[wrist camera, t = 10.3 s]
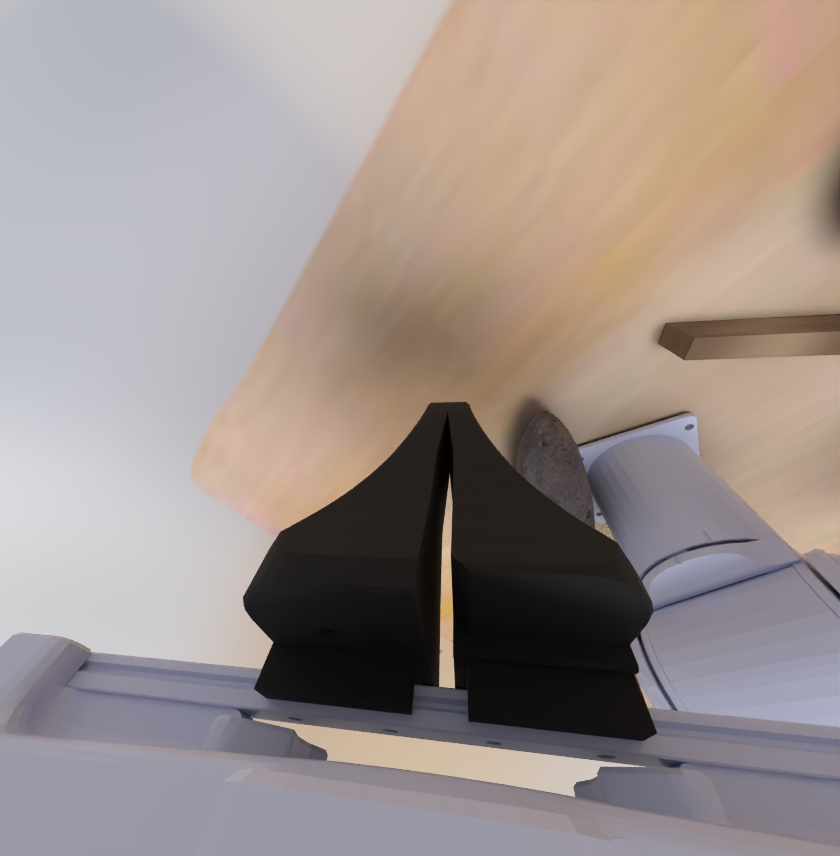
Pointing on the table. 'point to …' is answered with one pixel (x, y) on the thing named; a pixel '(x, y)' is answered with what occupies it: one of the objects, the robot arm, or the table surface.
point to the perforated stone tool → (555, 466)
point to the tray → (754, 337)
